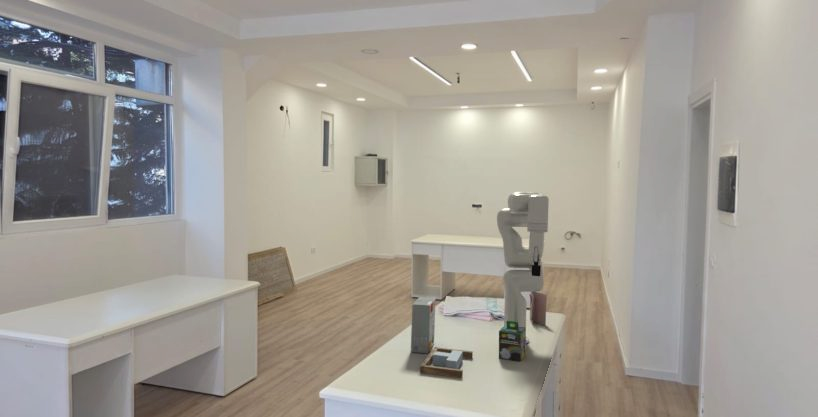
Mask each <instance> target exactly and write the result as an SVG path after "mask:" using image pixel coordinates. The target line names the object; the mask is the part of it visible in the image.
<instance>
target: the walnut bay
mask: <svg viewBox="0 0 818 417" xmlns="http://www.w3.org/2000/svg"><path fill="white" fill-rule="evenodd" d="M452 350H456V351H463V358H462V359H473V357H474V356H473V351H472V350H463V349H455V348H447V347H444V348H443V347H437V346H434V348H433V349H432V350H431V351H430V352H429V353H428V355H427V357H426V358H425V359H424V360H423V362H422V363H421V365H420V366H419V373H420V374H425V375H426V374H428V375H433V376H434V375H435V376H442V377H450V378H458V379H462V378H463V377H464V376H463V375H464V374H463V373H464V372H463V369H460V368H458V369H452V368H446V367H445V366H437V365H431V364H433V354H434V353H435V351H437V352H445V353H451V352H452Z"/></svg>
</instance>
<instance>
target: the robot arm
mask: <svg viewBox="0 0 818 417" xmlns="http://www.w3.org/2000/svg"><path fill="white" fill-rule="evenodd" d="M549 203H550V201H549V197H548V196H547V195H544V194H542V193H538V192H536V191H515V192H512V193H510V194H509V196H508V198H507V207H508V208H503V209H500V210H499V211H498V212H497V214H496V215H497V216H496V222H497V223H496V224H497V227H498V231H499V234H500V236H501V239H502V246H503V254H504V255H503V257H504V262H505V266H506V267H507V268H510V269H509V270H507V271H505V272H504V274H503V279H502V280H503V289H504V314H503V316H504V318H503V319H504V321H503V322H504V323H503V327H504V326H505V325H507V321H514V322H518V327H526V328H527V307H528V306H527V304H528V302H527V300H526V298H525V297H524V295H523V292H524V293H525V292H527V293H529V292H530V293H531V292H538V293H539V292H540V291H542V290H543V289H544V286H545V284H544V283H545V279H544V272H543V264H542V258H543V256H544V255H543V254H544V246H545V233H548V232H549V230H548V229H549V206H550V205H549ZM515 228H526V229H527V232H528V233H529V236H528V237H529V238H528V239H529V240H528V247H525V246H523V238H522V236H521V235H520V233H519V232H518V231H516V229H515ZM510 326H515V325H514V324H510ZM529 342H530V338H529V337H528V336H526V344H528V343H529Z"/></svg>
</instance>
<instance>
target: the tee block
mask: <svg viewBox="0 0 818 417" xmlns="http://www.w3.org/2000/svg"><path fill="white" fill-rule="evenodd" d="M456 350H457V349H456ZM456 350H452V352H451V353H445V352H437V351H435V353H434V354H433V362H432V366H437V367H444V368H452V369H460V367H461V364H462V363H463V359H464V358H463V351H456Z"/></svg>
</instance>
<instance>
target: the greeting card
mask: <svg viewBox="0 0 818 417" xmlns="http://www.w3.org/2000/svg"><path fill="white" fill-rule="evenodd" d="M528 294H529V298H530V300H529V303H530V304H529V321H530V323H531V325H532V326H534V322H536V323H538V322H539V324H542V325H544V326H546V322H547V320H546V319H547V318H546V317H547V294H544V293H540V292H539V291H538V292H530V293H528ZM533 320H534V321H533Z"/></svg>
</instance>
